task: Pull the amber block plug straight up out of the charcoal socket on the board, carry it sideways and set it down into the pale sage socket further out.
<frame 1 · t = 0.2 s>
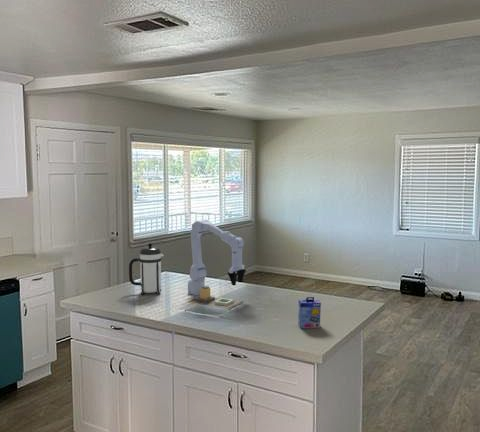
hand: (236, 283, 267), 10 cm above the worktop, tool pointing down, fingers open, 7 cm apart
ink cartridge box: (309, 326, 225), on the worktop
plug: (205, 300, 266), point 1 cm above the worktop, touching switch board
coffee press: (148, 293, 286), on the worktop
switch board: (214, 303, 263), on the worktop
jack right: (224, 305, 261), resting on switch board
grey square frame: (205, 302, 266), resting on switch board
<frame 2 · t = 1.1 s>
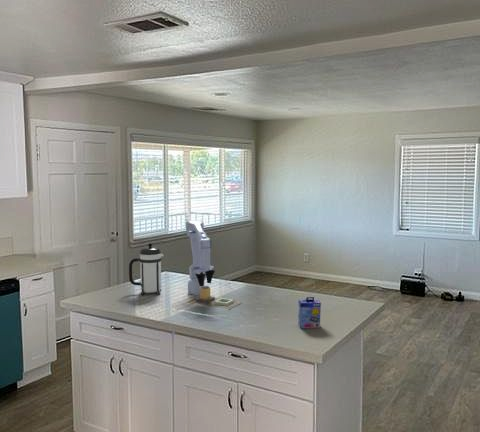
hand: (205, 284, 265), 10 cm above the worktop, tool pointing down, fingers open, 7 cm apart
nothing on the worktop moved.
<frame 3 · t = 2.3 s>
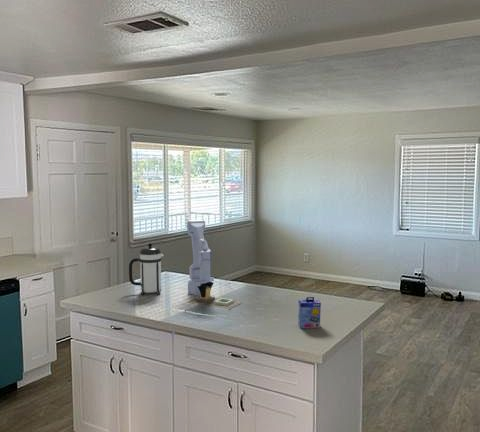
hand: (205, 296, 266), 3 cm above the worktop, tool pointing down, fingers closed on plug, 4 cm apart
plug: (205, 300, 266), point 1 cm above the worktop, touching gripper, switch board
everything else where it was.
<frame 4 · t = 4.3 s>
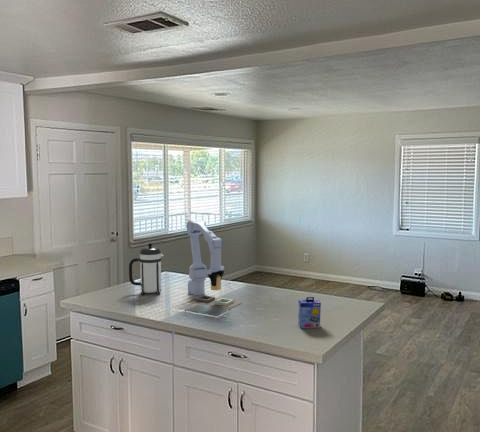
hand: (216, 284, 262), 11 cm above the worktop, tool pointing down, fingers closed on plug, 4 cm apart
plug: (215, 289, 262), point 8 cm above the worktop, touching gripper
everything else where it was.
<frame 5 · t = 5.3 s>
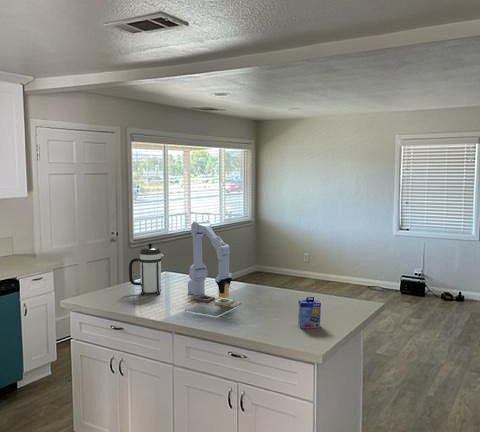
hand: (224, 292, 260), 7 cm above the worktop, tool pointing down, fingers closed on plug, 4 cm apart
plug: (223, 296, 260), point 5 cm above the worktop, touching gripper
everything else where it was.
when the fingers open (4 cm above the worktop, at t = 6.2 s): plug stays where it is, resting on switch board.
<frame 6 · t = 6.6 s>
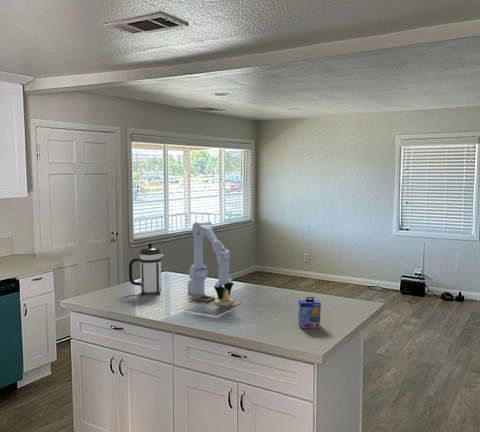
hand: (224, 297, 260), 4 cm above the worktop, tool pointing down, fingers open, 7 cm apart
plug: (223, 303, 261), point 1 cm above the worktop, touching switch board
everything else where it was.
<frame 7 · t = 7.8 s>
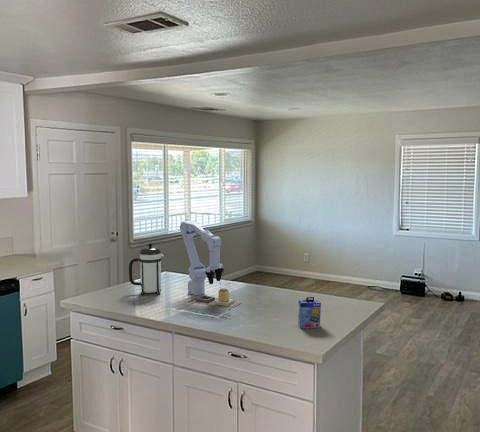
hand: (214, 282, 269), 10 cm above the worktop, tool pointing down, fingers open, 7 cm apart
nothing on the worktop moved.
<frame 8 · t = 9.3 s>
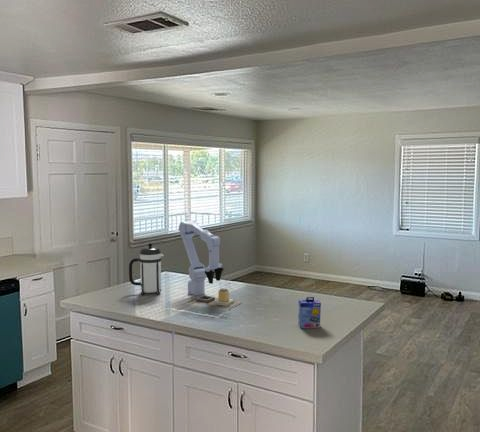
hand: (214, 281, 269), 10 cm above the worktop, tool pointing down, fingers open, 7 cm apart
nothing on the worktop moved.
at the end: plug 0.3 cm off-centre on the jack right, point 1.0 cm above the jack right's base; plug tilted 0°; the gripper is holding nothing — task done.
